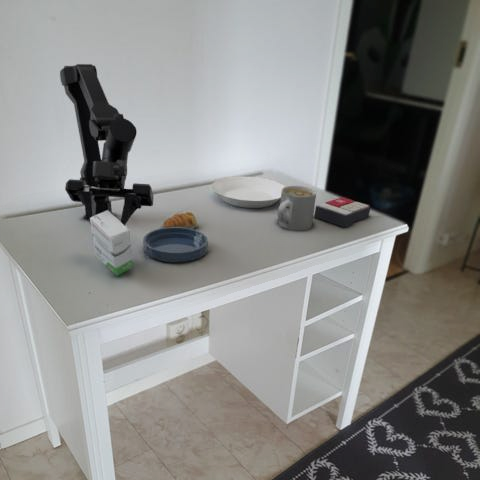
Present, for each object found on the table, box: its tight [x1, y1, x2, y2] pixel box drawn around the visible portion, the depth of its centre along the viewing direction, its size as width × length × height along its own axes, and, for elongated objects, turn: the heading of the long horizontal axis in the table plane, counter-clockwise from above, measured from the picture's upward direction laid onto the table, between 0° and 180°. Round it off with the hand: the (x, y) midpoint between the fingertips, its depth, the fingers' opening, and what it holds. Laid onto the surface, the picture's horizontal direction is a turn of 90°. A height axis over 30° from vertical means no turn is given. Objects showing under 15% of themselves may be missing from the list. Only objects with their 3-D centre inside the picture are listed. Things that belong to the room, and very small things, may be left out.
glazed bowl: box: [142, 227, 209, 264], centre depth 125 cm, size 16×16×3 cm
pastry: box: [162, 211, 198, 230], centre depth 138 cm, size 9×7×4 cm
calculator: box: [313, 196, 371, 228], centre depth 152 cm, size 11×4×15 cm
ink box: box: [89, 210, 134, 277], centre depth 111 cm, size 9×5×12 cm, turn 48°
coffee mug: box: [277, 185, 317, 231], centre depth 142 cm, size 13×10×10 cm
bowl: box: [211, 176, 286, 209], centre depth 162 cm, size 25×25×4 cm
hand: (106, 227), depth 109 cm, fingers closed on ink box, 6 cm apart
